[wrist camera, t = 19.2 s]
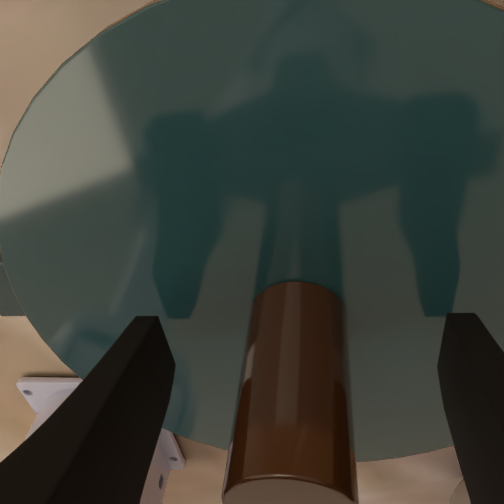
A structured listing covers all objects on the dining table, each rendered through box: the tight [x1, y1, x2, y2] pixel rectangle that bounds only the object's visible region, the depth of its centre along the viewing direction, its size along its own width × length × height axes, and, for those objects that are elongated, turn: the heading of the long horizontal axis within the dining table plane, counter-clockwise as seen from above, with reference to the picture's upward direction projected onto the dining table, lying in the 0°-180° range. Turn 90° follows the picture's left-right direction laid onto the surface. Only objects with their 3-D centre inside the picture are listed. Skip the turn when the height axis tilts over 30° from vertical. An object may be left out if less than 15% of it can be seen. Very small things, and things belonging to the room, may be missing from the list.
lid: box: [0, 0, 504, 504], centre depth 11 cm, size 16×16×6 cm
